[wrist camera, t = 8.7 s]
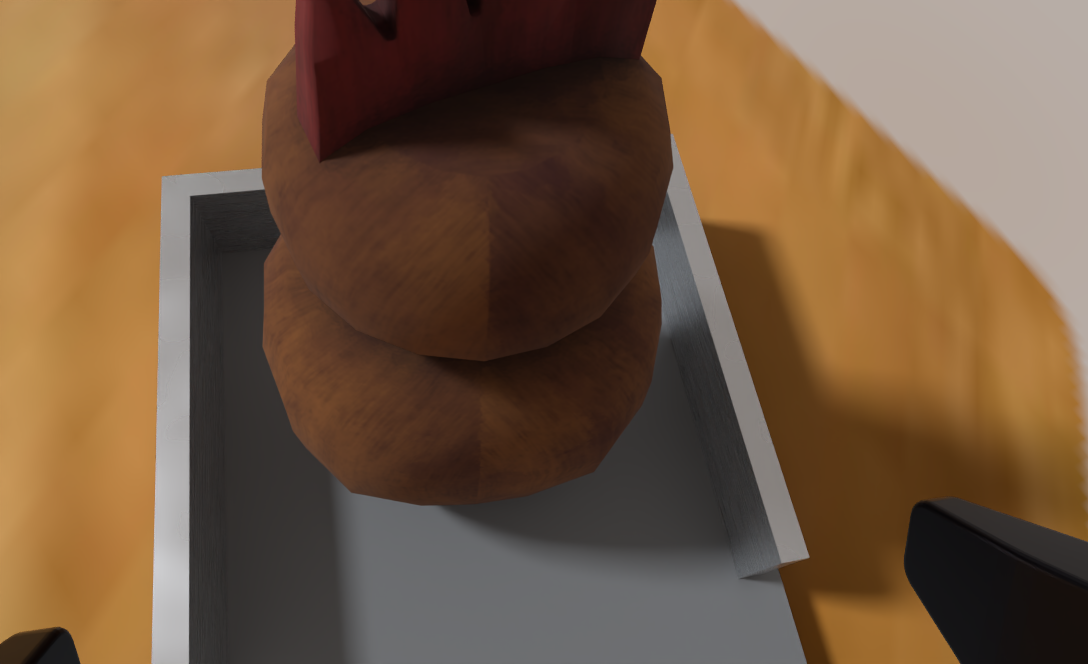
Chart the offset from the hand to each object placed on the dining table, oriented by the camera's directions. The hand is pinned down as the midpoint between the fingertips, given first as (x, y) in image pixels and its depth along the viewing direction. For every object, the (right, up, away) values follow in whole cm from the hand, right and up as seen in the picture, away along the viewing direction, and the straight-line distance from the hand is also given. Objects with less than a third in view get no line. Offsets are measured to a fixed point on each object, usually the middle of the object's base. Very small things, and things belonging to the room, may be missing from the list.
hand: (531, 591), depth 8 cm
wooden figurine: (-2, +1, +10) cm, 10 cm away
